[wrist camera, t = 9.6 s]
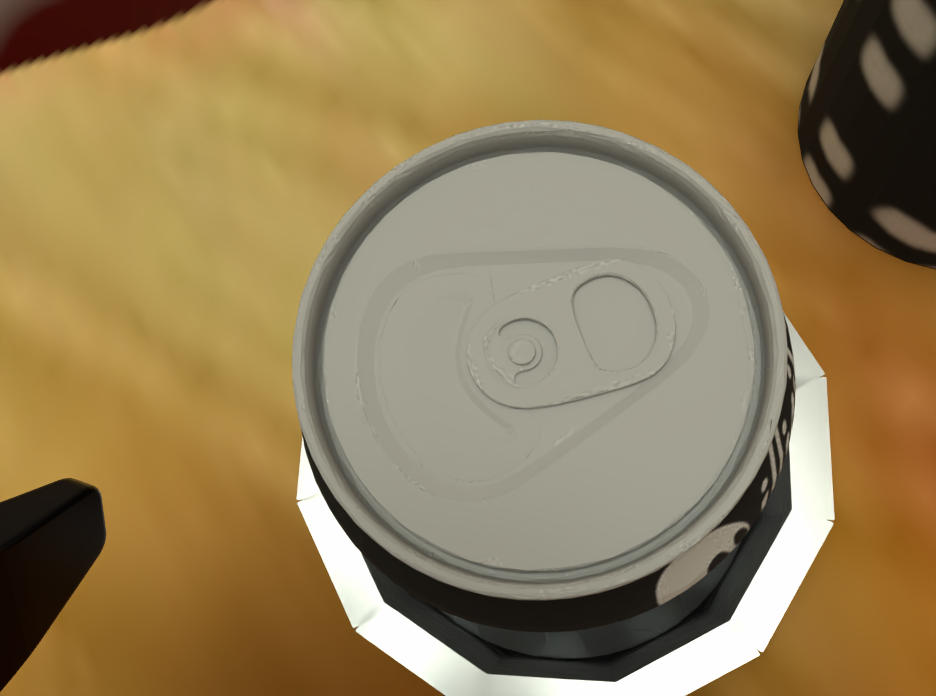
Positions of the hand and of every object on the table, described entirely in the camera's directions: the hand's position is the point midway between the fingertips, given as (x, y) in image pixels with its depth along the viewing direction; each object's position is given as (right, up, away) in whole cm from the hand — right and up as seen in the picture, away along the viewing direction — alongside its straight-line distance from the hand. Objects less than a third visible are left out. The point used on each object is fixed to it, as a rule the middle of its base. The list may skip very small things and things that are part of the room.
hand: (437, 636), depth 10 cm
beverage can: (+3, 0, +12) cm, 12 cm away
